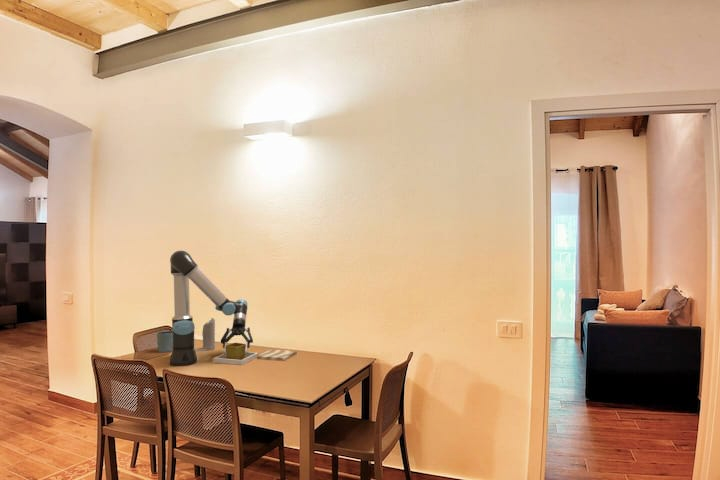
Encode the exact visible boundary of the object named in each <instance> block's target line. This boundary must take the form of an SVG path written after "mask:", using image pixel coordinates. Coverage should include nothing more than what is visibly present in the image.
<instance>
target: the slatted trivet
mask: <svg viewBox="0 0 720 480" xmlns="http://www.w3.org/2000/svg"><path fill="white" fill-rule="evenodd" d="M297 352H298V351H297V350H287V349H286V350H285V349H273V348H272V349H271V348H270V349H269V350H267V351H264V352H262V353H260V354H258V356H257V358H256V359H257V360H270V361H287V360H288V359H290V358H291V357H293V356H295V355H297Z"/></svg>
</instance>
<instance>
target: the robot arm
mask: <svg viewBox="0 0 720 480" xmlns="http://www.w3.org/2000/svg"><path fill="white" fill-rule="evenodd" d="M169 258H170V259H169V263H170V274H171V275H172V276H173V301H174V304H173V305H174V316H173V317H171V327H172V328H171V331H172V333H173V344H172V345H173V347H172V352H171V354H170V357H169V360H168V364H169V365H170V366H173V367H179V366H180V367H181V366H183V367H184V366H190V365H194V364H196V363H197V362H198V355H197V352H196V351H195V349H196V348H195V329H196V328H195V322H194V320H193V317H194V316H193V315H192V314H191V309H190V281H191V282H192V283H193V284H194V285H195V286H196V287H197V288H198V289H199V290H200V291H201V292H202V293H203V294H204V295H205V296H206V297H207V298H208V299H209V300H210V301H211V302H212V303H213V304H214V305H215V310H216V311H219V312H222V313H223V314H224V316H232V315H233V321H232V327H231V328H229V327H226V330H225V332H224V334H223V335H222V337H221V339H220V344H222V348H223V354H226V345H228V342H229V341H231V340H232V338H233V337H235V336H242V337H243V339H244V340H245V344H246V348H245V353H246V354H247V352H248V349H249V348H250V345H251V343H252V344H253V343H254V340H253V336H252V333H251V329H250V327H247V328H246V321H247V313H248V301H247V300H245V299H237V300H236V301H232V300H230V299H228V297H227V296H226V295H225V294H224V293H223V292H222V291H221V290H220V289H219V288H218V287H217V286H216V285H215V284H214V283H213V282H212V281H211V280H210V279H209V278H208V277H207V275H205V274H204V272H203V271H202V270H201V269H200V268H198V267H199V265H198V264H197V263H196V262H195V261H194V259H193V257H192V256H191V254H190V253H189V252H187V251H185V250H176V251H175V252H173V253H172V254H171V256H170V257H169ZM245 332H246V333H247V335H248V336H247V335H246V333H245Z"/></svg>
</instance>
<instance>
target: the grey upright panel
mask: <svg viewBox="0 0 720 480" xmlns="http://www.w3.org/2000/svg"><path fill="white" fill-rule="evenodd" d="M215 321H216V319H215V318H213V317H211V319H209V320H208V322H207V321H206V322H205V324H203V325H202V333H201V334H202V347H200V348H199V347H198V348H194V349H195V352H196V351H197V352H200V351H201V352H202V351H203V352H204V351H206V352H207V351H213V350H215V348H216V347H215V346H216V345H215V343H216V342H215V341H216V339H215V338H216V336H215V335H216V333H215V332H216V329H215V328H216V325H215V324H216V322H215Z"/></svg>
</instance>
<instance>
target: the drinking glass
mask: <svg viewBox="0 0 720 480" xmlns="http://www.w3.org/2000/svg"><path fill="white" fill-rule="evenodd" d="M156 339H157V352H158V353H169V352H171V351H173V333H172V330H163V331H162V330H160V331H157V332H156Z"/></svg>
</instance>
